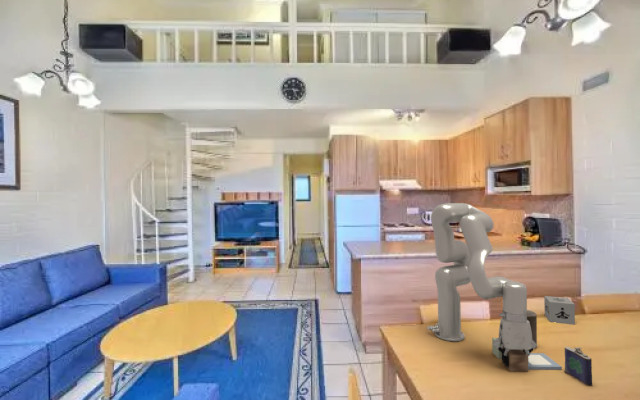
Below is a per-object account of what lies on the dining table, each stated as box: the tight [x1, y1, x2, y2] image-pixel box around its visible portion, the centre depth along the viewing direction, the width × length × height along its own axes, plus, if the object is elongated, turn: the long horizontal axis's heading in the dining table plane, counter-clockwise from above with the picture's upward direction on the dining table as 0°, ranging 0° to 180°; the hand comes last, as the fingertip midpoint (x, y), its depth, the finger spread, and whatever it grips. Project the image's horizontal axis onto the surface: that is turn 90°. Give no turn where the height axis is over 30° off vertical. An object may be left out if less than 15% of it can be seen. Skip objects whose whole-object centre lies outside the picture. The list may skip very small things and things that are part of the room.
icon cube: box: [543, 295, 576, 326], centre depth 160 cm, size 10×10×10 cm
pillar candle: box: [527, 309, 538, 350], centre depth 135 cm, size 10×10×15 cm
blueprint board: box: [528, 352, 563, 371], centre depth 121 cm, size 12×10×1 cm
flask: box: [564, 346, 593, 387], centre depth 110 cm, size 9×3×11 cm, turn 8°
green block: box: [491, 337, 502, 360], centre depth 126 cm, size 5×5×6 cm
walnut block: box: [501, 350, 529, 373], centre depth 117 cm, size 6×6×6 cm
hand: (514, 364), depth 117 cm, fingers closed on walnut block, 6 cm apart
